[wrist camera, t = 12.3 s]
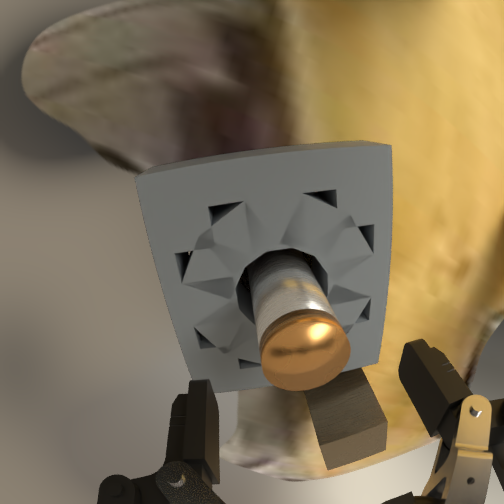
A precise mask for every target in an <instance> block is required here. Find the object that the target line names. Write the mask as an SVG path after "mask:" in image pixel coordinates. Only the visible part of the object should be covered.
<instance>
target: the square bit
mask: <svg viewBox="0 0 504 504" xmlns="http://www.w3.org/2000/svg"><path fill="white" fill-rule="evenodd" d="M304 392H305V395H306V399H307V403H308V406H309V410H310V413H311V417H312V421H313V424H314V428H315V432H316V435H317V439H318V442H319V446H320V449H321V452H322V455H323V458H324V461H325V464H326V467H327V470H331V469H334V468H337V467H340V466H343V465H346V464H349V463H352V462H355V461H358V460H361V459H363V458H366V457H369V456H371V455H374V454H377V453H379V452H382V451H384V450H386V439H387V423H388V421H387V419H386V417H385V415H384V413H383V411H382V409H381V407H380V405H379V403H378V400H377V398H376V396H375V394H374V392H373V390H372V388H371V386H370V384H369V382H368V380H367V378H366V376H365V374H364V372H363V370H362V368H357V369H353V370H349V371H344V372H340V373H339V374H338V375H337V376H336V377H335V378H334V379H332V380H331V381H329V382H327V383H326V384H324V385H321V386H319V387H316V388H313V389H309V390H304Z"/></svg>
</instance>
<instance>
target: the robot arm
mask: <svg viewBox="0 0 504 504" xmlns="http://www.w3.org/2000/svg"><path fill="white" fill-rule="evenodd" d="M398 372H399V378H400V381H401V383H402V384H403V386H404V388H405V390H406V392H407V393H408V395H409V397H410V399H411V401H412V403H413V404H414V406H415V408H416V410H417V412H418V414H419V416H420V418H421V419H422V421H423V423H424V425H425V427H426V429H427V431H428V433H429V435H430V437H433V436H435V435H437V434H440V435H441V437H442V438H441V440H440V443H439V447H438V451H437V455H436V459H435V462H434V466H433V469H432V472H431V476H430V478H429V481H428V482H427V484H426V486H425V488H424V490H423V492H422V495H421V496H413V494H412V492H409V493H407V494H404V495H401V496H399V497H396V498H393V499H390V500H388V501H385V502H384V503H382V504H484V502H485V498H486V494H487V489H488V484H489V478H490V473H491V467H492V466H493V468H494V470H495V472H496V475H497V477H498V479H499V481H500V484H501V486H502V488H503V491H504V399H498V400H492V401H488V400H487V399H486V398H485V397H483V396H480V395H473V394H472V392H471V391H470V389H469V388H468V387H467V385H466V384H465V382H464V381H463V379H462V378H461V377H460V375H459V374H458V372H457V371H456V370H454V367H453V366H452V364H451V363H450V362H449V360H448V359H447V357H446V356H445V355H444V353H442V352H441V351H439V350H438V349H436V348H435V347H432V348H430V347H429V346H428V344H427V343H426V342H425V340H423V339H418V340H415V341H412V342H408V343H406V344H405V345H404V349H403V353H402V357H401V361H400V365H399V370H398ZM212 484H220V470H219V410H218V404H217V401H216V398H215V395H214V392H213V388H212V385H211V382H210V380H209V379H202V380H191V381H190V382H189V390H188V394H179V395H178V396H177V398H176V399H175V401H174V403H173V404H172V410H171V418H170V427H169V433H168V441H167V450H166V458H165V462H164V464H163V466H162V467H161V468H160V469H159V470H158V471H157V472H155V473H154V474H152V475H149V476H145V477H141V478H136V479H131V480H130V479H129V478H127V477H125V476H123V475H111V476H109V477H107V478H106V479H104V480H103V482H102V483H101V485H100V488H99V494H98V502H97V504H226V503H225V502H224V501H223V500H222V499H221V498H220V497H219V496H218V495H217V494H216V493H215V492H214V491H213V490H212Z"/></svg>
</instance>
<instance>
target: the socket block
mask: <svg viewBox="0 0 504 504" xmlns="http://www.w3.org/2000/svg"><path fill="white" fill-rule="evenodd" d="M135 182H136V187H137V192H138V196H139V201H140V206H141V210H142V214H143V219H144V223H145V227H146V231H147V235H148V239H149V243H150V247H151V251H152V254H153V258H154V262H155V265H156V269H157V272H158V276H159V280H160V283H161V287H162V290H163V294H164V297H165V299H166V304H167V307H168V310H169V313H170V316H171V320H172V322H173V326H174V328H175V332H176V335H177V338H178V341H179V344H180V347H181V350H182V353H183V355H184V358H185V361H186V364H187V366H188V369H189V372H190V375H191V378H192V380H202V379H209V380H210V382H211V385H212V388H213V392H214V393H221V392H229V391H238V390H246V389H254V388H261V387H267V386H274V385H273V384H271V383H270V382H269V381H268V380H267V379H266V377H265V376H264V374H263V370H262V365H261V358H260V352H259V345H258V338H257V332H256V325H255V318H254V311H253V305H252V298H251V293H249V292H248V290H247V289H246V288H245V287H244V286H243V285H242V284H241V283H240V282H239V279H240V277H241V275H242V272H243V270H244V268H245V267H246V266H247V265H248V264H250V263H251V262H253V261H254V260H255V259H257V258H258V257H259V256H261V255H262V254H264V253H265V252H267V251H274V250H280V249H287V248H294V249H297V250H300V251H302V252H305V253H308V254H310V255H312V268H311V271H312V272H313V274H314V276H315V278H316V280H317V282H318V283H319V285H320V287H321V289H322V291H323V293H324V294H325V296H326V298H327V300H328V302H329V304H330V306H331V308H332V309H333V311H334V313H335V315H336V317H337V319H338V321H339V323H340V325H341V326H342V328H343V330H344V332H345V334H346V336H347V338H348V340H349V342H350V347H351V353H350V357H349V360H348V362H347V364H346V366H345V367H344V369H343V370H342V371H341V372H344V371H349V370H353V369H357V368H361V367H365V366H368V365H372V364H376V363H378V360H379V354H380V348H381V342H382V335H383V328H384V321H385V313H386V304H387V295H388V285H389V274H390V260H391V243H392V215H393V176H392V148H391V145H387V144H381V143H375V142H369V141H343V142H327V143H314V144H303V145H292V146H283V147H273V148H265V149H257V150H249V151H242V152H235V153H228V154H221V155H215V156H209V157H203V158H197V159H191V160H186V161H180V162H175V163H170V164H165V165H160V166H155V167H151V168H150V169H148V170H146V171H144V172H143V173H141V174H139V175H137V176H136V177H135ZM316 192H317V193H316ZM215 205H217V206H215ZM214 206H215V207H214ZM188 251H191V252H190V255H189V254H188Z"/></svg>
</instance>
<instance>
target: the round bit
mask: <svg viewBox="0 0 504 504" xmlns="http://www.w3.org/2000/svg"><path fill="white" fill-rule="evenodd" d="M247 271H248V277H249V284H250V291H251V298H252V305H253V311H254V318H255V325H256V332H257V338H258V345H259V352H260V358H261V365H262V370H263V374H264V376H265V377H266V379H267V380H268V381H269V382H270V383H271V384H273V385H274V386H276V387H278V388H281V389H285V390H290V391H303V390H309V389H313V388H316V387H319V386H321V385H324V384H326V383H327V382H329V381H331V380H332V379H334V378H335V377H336V376H337V375H338V374H339V373H340V372H341V371H342V370H343V369H344V367H345V366H346V364H347V362H348V360H349V357H350V353H351V347H350V342H349V340H348V338H347V336H346V334H345V332H344V330H343V328H342V326H341V325H340V323H339V321H338V319H337V317H336V315H335V313H334V311H333V309H332V308H331V306H330V304H329V302H328V300H327V298H326V296H325V294H324V293H323V291H322V289H321V287H320V285H319V283H318V282H317V280H316V278H315V276H314V274H313V272H312V271H311V269H310V267H309V265H308V263H307V262H306V260H305V258H304V256H303V254H302V253H301V251H300V250H297V249H294V248H287V249H280V250H274V251H267V252H265V253H264V254H262V255H261V256H259V257H258V258H257V259H255V260H254V261H253V262H251V263H250V264H248V265H247Z"/></svg>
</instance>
